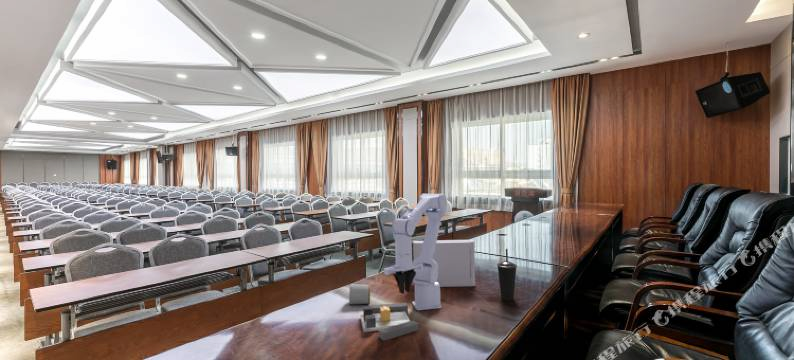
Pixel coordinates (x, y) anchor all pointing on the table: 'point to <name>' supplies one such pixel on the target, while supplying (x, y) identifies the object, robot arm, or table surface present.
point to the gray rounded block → (359, 294)
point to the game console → (452, 261)
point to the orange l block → (384, 313)
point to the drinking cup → (507, 278)
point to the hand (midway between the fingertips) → (404, 292)
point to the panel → (374, 321)
